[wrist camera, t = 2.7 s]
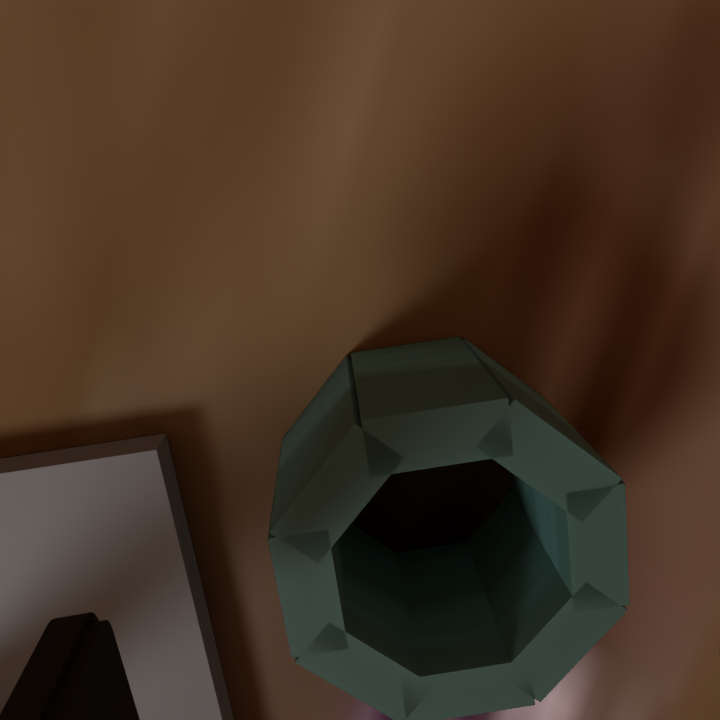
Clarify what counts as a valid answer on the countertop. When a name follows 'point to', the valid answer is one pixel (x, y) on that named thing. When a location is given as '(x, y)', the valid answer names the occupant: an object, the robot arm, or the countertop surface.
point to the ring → (449, 562)
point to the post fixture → (109, 570)
